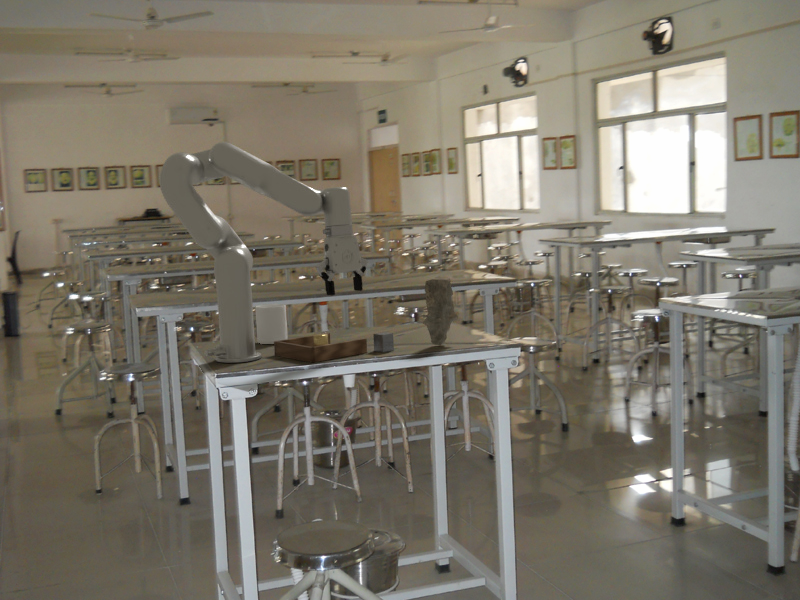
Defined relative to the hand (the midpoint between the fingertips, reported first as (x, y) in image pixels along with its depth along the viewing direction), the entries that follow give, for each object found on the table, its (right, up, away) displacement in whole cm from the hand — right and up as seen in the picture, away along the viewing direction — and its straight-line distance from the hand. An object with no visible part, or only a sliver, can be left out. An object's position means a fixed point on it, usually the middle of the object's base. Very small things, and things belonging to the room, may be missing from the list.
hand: (344, 292), depth 229 cm
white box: (-25, -16, +29) cm, 41 cm away
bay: (-7, -17, +3) cm, 19 cm away
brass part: (-7, -18, 0) cm, 19 cm away
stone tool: (+28, -16, +10) cm, 33 cm away
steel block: (+11, -17, +5) cm, 20 cm away
